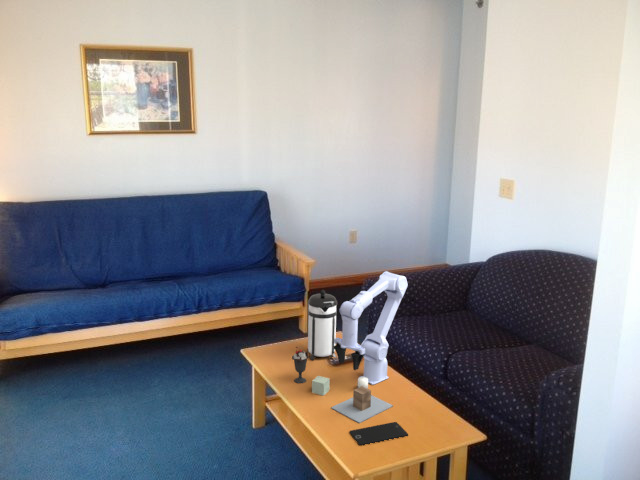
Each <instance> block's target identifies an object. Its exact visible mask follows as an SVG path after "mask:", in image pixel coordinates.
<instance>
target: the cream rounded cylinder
mask: <svg viewBox="0 0 640 480" xmlns="http://www.w3.org/2000/svg"><path fill="white" fill-rule="evenodd" d="M361 386H363V387H365V388H367V389H369V383H368V378H366V377H360V376H359V377H357V388H359V387H361Z"/></svg>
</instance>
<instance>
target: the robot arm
mask: <svg viewBox="0 0 640 480" xmlns="http://www.w3.org/2000/svg"><path fill="white" fill-rule="evenodd" d="M407 279H408V278H407V277H406V276H404V275H399V274H396V273H393V272H389V271H384V272H383V273H382V274H380V275H379V278H378V280H377V281H376V282H375V283H374V284H373V285H372V286H371V287H369V288H368V290H367V291H366V290H361V291H360V292H359V293H358V294H357V295H356V296H354V297H353V298H352V299H350V300H349V301H348V300H346V301H344V302H343V303H342V304H341V305H340V308H339V313H340V315H341V320H342V334H341V335H342V336H341V338H340V337H336V338H335V339H334V343H335V346H334V349H335V352H336V353H335V354H336V355H337V356H336V357H337V359H338V363H339V364H344V363H345V361H346V351H347V349H348V350H352V351H353V352H352V353H350V354H351V359H352V368H353V371H357V370H359V369H360V368H359V367H360V365H361V362H362V359H363V358H364V359H363V360H364V361H363V375H360V376H359V377H366V378H368V384H370V385H372V386H374V385H376V384H379V383H380V382H383V381H385V380H387V379H389V377H390V376H388V360H387V354H388V348H389V346H390V345H389V343H388V341H387V339H386V337H387V335H388V332H389V331H390V328H391V326H392V323H393V320H394V319H395V316H396V313H397V311H398V309H399V306H400V304H401V301H402V299H403V297H404V295H405V293H406V290H407V288H408V286H409V285H408V281H407ZM382 292H384V293H385V294H386V295H387V297H386V298H387V299H386V301H385V302H384V306H383V308H382V310H381V313H380V316H379V317H378V320H377V323H376V325H375V328H374V330H373V332H371V333H370V334H367V335H366V336H365V338H364V340H363V341H362V343H361V344H359V343H358V328H359V326H358V324H359V318H360V317H361V315H362V313H363V311H364V310H365V309H366V308H367V307H368V306H370V305H371V304H373V298H375V297H377V296H378V295H380V294H381V293H382Z"/></svg>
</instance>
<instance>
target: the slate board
mask: <svg viewBox="0 0 640 480" xmlns="http://www.w3.org/2000/svg"><path fill="white" fill-rule="evenodd" d="M393 407H394V404H391V403H389V402H387V401H386V400H383V399H381V398H378V397H376V396H375V395H373V394H371V407H369V408H367V409H365V410H363V411H361V410H359V409H357V408H355V407H353V397H350V398H348V399H347V400H344V401H341V402H339V403H337V404H335V405H333V406H331V407H330V409H331V410H333V411H335V412H337V413H338V414H342V415H343V416H344V417H346V418H348V419H350V420H352V421H354V422H356V423H357V424H361V423H363V422H365V421H368V420H369V419H371V418H373V417H375V416H377V415H379V414H382V412H384V411H387V410H389V409H391V408H393Z"/></svg>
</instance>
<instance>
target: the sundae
mask: <svg viewBox="0 0 640 480" xmlns="http://www.w3.org/2000/svg"><path fill="white" fill-rule="evenodd" d="M295 348H296V349H297V350H295V352H294V354H293V355H292V357H291V359H292V360H293V361H294V362H293V363H294V369H295V371H296V372H297V373H298V377H296V378H294V380H293V381H294V383H296V384H305V383H307V379H306V378H304V377H303V373H304V372H305V371H306V368H307V362H308V359H310V356H309V351H308V350H307V351H304V350H302V349H300V348H298V346H295Z"/></svg>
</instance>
